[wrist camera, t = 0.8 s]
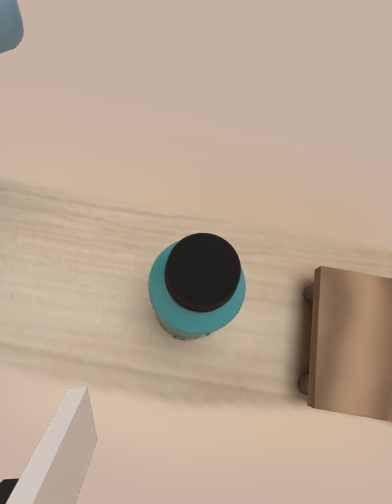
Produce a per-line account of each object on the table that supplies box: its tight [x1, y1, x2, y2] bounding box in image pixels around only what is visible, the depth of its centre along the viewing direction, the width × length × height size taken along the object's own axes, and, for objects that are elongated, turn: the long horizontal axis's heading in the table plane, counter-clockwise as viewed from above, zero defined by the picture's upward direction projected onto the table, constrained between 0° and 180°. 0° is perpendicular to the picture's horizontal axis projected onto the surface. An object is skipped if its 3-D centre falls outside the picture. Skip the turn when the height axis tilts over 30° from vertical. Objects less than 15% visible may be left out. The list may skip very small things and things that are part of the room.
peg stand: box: [298, 266, 392, 422], centre depth 33 cm, size 14×13×6 cm
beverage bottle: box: [148, 233, 245, 341], centre depth 26 cm, size 6×7×20 cm
